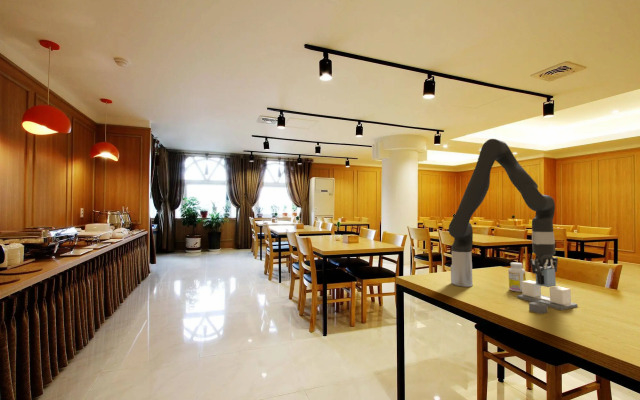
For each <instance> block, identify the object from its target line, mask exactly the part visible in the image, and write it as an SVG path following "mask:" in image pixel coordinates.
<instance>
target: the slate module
mask: <svg viewBox="0 0 640 400" xmlns="http://www.w3.org/2000/svg"><path fill="white" fill-rule="evenodd" d="M541 268H542V267H541ZM535 271H536V269H535ZM540 271H541V269H540ZM543 276H544V285H541V284H538V282H537V275H536V274H535V281H536V285H540V286H541V287H544V288H545V287H547V288H550V287H556V286H557V282H556V272H555V269H554V268H546V269H545V270H544V275H543Z"/></svg>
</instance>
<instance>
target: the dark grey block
mask: <svg viewBox="0 0 640 400" xmlns="http://www.w3.org/2000/svg"><path fill="white" fill-rule="evenodd" d="M528 309H529V311H530V312H533V313H535V314H539V315H541V314H542V315H543V314H547V313H548V306H547V305H546V304H543V303H539V302H531V301H530V302H529V303H528Z"/></svg>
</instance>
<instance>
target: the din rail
mask: <svg viewBox="0 0 640 400" xmlns="http://www.w3.org/2000/svg"><path fill="white" fill-rule="evenodd" d="M571 295H572V292H571V288H567V287H562V286H559V285H558V286H557V285H556V286H552V287H549V296H548V295H547V296H546V295H543V294H542V286H540V285H536V280H530V279H529V280H526V281H522V292H521V294H517V295H516V298H517V299H520V300H524V301H527V302H530V303H531V302H539V303H543V304H546V305H547V308H548V307H549V308H552V309H556V310H559V311H563V310H564V311H565V310H569V309H573V308H578V307H579V306H578V303H575V302H572V296H571Z"/></svg>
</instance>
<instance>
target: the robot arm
mask: <svg viewBox="0 0 640 400" xmlns="http://www.w3.org/2000/svg"><path fill="white" fill-rule="evenodd" d="M495 162H497V164H499V165H500V166H501V167H502V169H504V171H505V172H506V175H507V177H508V179H509V181H510V182H511V183H512V185H513V186H514V187H515V188H516V190H517V191H518V192H519V193H520V195H521V197H522V199H523V200H524V202H525V204H526V206H527V207H528V209H530V210H531V211H534V212H535V217H534V218H532V220H531V232H532V233H531V244H532V253H533V254H535V258H534V259H530V261H529V262H530V266H531V270H532V274H534V275H535V276H536V275H537V282H538V284H541V285H544V276H543V275H544V270H545V269H546V268H554V269H555V273H557V272H558V271H557V270H558V264H559V263H558V262H559V259H558V257H553V255H556V242H555V239H556V238H555V234H554V233H555V232H554V222H553V220H554V217H555V210H556V204H555V200H554V198H553V197H552V196H550V195H547V194H542V192H540V191H539V189H538V188H539V186H538V183H537V182H536V181H535V180H534V179H533V177H532V176H530V174H529V173H528V172H527V171H526V170H525V169H524V168H523V166H522V165H521V164H520V163H519V161H518V160H517V159H516V157H515V155H514V154H513V152H512V151H511V148H510V147H509V145H508V144H507V143H506V142H505V141H503V140H500V139H497V138H489V139H487V140H486V141H485V142H484V143H483V145H482V146H481V148H480V151H479V154H478V158H477V161H476V165H475V167H474V169H473V172H472V174H471V176H470V179H469V182H468V183H467V186H466V188H465V190H464V193H463V196H462V198H461V200H460V203H459V204H458V205H459V206H458V209H457V211H456V212H455V214H454V216H453V217H452V220H451V221H450V223H449V224H448V233H449V235H450V236H451V237H452V238H454V239H453V243H452V245H451V264H450V283H451V284H452V285H454V286H457V287H464V288H466V287H473V286H474V285H473V261H472V260H473V258H472V247H473V245H474V244H473V238H474V236H473V235H474V232H473V229H474V228H473V226H472V224H471V222H470V221H471V218H472V216H473V215H474V213H475V212H476V211H477V210H478V208H479V207H480V206H481V204H482V203H483V202H484V200H485V197H486V196H487V193H488V191H489V188H490V182H491V170H492V168H493V167H494V163H495ZM541 267H542V268H541ZM535 269H536V271H535ZM540 269H541V271H540Z"/></svg>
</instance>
